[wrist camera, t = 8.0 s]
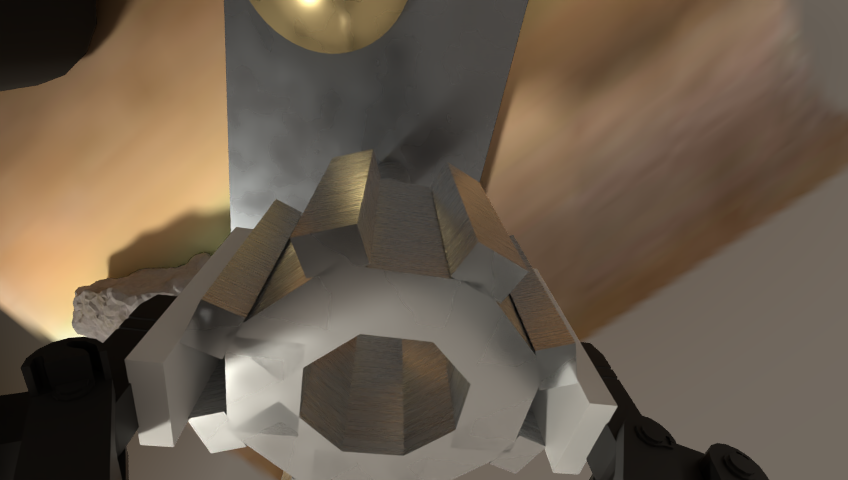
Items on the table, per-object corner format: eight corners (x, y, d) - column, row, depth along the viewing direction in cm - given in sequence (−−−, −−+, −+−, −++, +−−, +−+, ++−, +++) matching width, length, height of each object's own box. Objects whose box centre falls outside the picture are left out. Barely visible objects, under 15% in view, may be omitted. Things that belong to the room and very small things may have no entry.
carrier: (231, -181, 18) (113, -330, 10) (545, -95, 20) (634, -167, 13) (239, 245, 28) (181, 325, 20) (449, 273, 30) (467, 355, 22)
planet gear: (261, 129, 13) (164, 195, 8) (546, 179, 14) (635, 264, 9) (258, 357, 17) (195, 503, 12) (478, 379, 19) (510, 519, 13)
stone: (167, 207, 26) (112, 251, 21) (262, 286, 30) (234, 340, 25) (80, 287, 29) (12, 344, 24) (177, 351, 32) (135, 413, 27)
